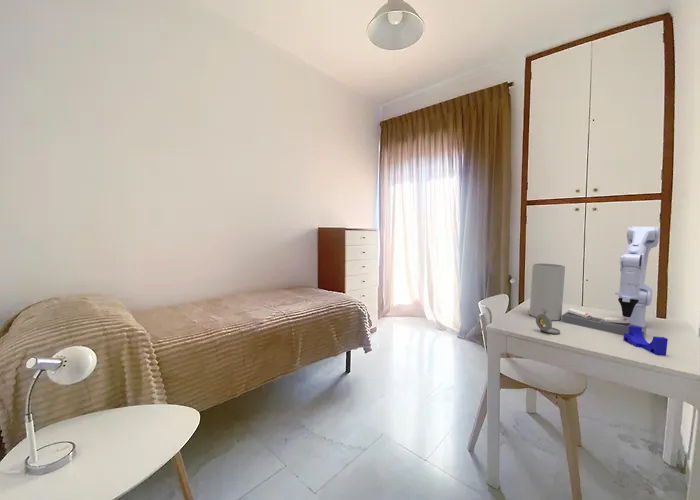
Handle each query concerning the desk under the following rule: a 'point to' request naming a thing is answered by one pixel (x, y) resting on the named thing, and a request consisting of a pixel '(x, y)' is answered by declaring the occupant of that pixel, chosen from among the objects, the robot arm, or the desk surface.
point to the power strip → (599, 324)
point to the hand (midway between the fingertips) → (626, 316)
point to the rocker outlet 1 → (578, 313)
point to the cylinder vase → (547, 290)
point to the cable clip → (637, 340)
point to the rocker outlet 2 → (616, 320)
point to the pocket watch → (546, 323)
